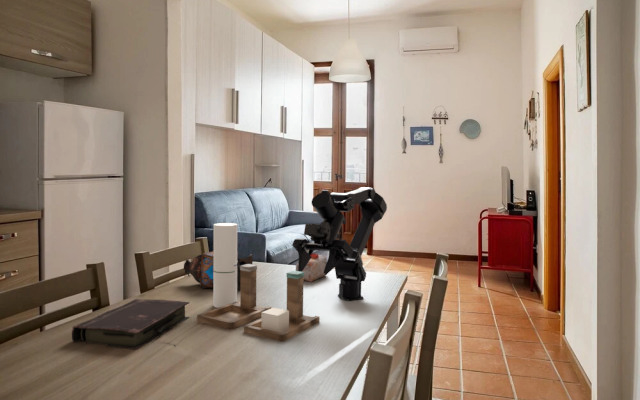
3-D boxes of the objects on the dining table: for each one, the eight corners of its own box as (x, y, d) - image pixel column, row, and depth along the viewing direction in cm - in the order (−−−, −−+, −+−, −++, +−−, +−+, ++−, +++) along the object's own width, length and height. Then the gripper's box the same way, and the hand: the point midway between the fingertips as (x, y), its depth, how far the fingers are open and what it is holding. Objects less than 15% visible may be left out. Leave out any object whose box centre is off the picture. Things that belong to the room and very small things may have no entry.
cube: (273, 326, 126) (273, 307, 125) (288, 329, 123) (289, 310, 123) (261, 331, 121) (261, 312, 121) (277, 335, 119) (277, 315, 118)
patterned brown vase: (248, 305, 170) (184, 296, 175) (260, 265, 179) (199, 258, 185) (236, 284, 157) (167, 274, 163) (250, 242, 166) (184, 235, 172)
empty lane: (238, 308, 144) (239, 261, 143) (271, 315, 138) (271, 266, 137) (197, 324, 129) (197, 271, 128) (231, 332, 123) (231, 277, 122)
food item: (312, 283, 178) (312, 257, 177) (293, 280, 181) (294, 255, 181) (328, 276, 190) (329, 251, 189) (311, 274, 193) (311, 249, 193)
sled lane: (282, 317, 136) (283, 267, 135) (319, 325, 129) (320, 273, 129) (243, 335, 121) (243, 279, 120) (282, 345, 115) (283, 286, 114)
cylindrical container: (241, 303, 150) (241, 223, 148) (229, 309, 143) (229, 226, 142) (221, 300, 152) (221, 222, 151) (208, 306, 146) (208, 225, 144)
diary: (70, 345, 115) (70, 324, 115) (134, 314, 139) (133, 297, 139) (139, 352, 111) (139, 330, 111) (192, 319, 135) (192, 301, 135)
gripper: (292, 212, 145) (272, 256, 138) (343, 211, 134) (324, 259, 126) (311, 233, 152) (292, 276, 145) (360, 233, 141) (343, 280, 133)
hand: (311, 272), depth 137 cm, fingers open, 9 cm apart
